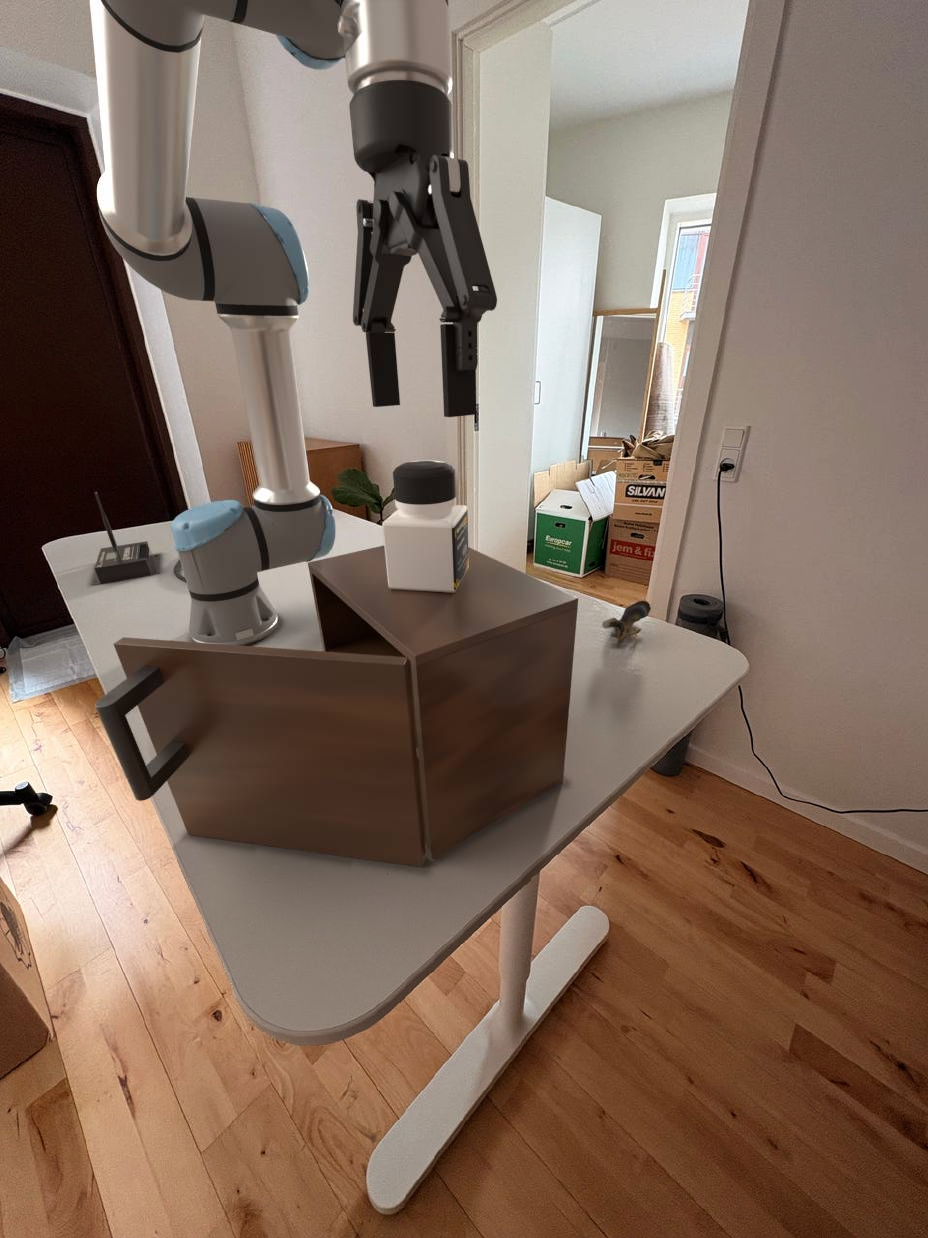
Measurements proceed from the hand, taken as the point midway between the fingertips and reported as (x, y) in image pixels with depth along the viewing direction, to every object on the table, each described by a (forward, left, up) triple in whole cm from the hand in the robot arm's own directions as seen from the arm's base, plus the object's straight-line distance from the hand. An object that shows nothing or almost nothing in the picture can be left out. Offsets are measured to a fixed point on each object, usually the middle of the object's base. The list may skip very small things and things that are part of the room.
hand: (419, 410), depth 47 cm
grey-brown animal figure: (-6, +42, -41) cm, 59 cm away
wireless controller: (-104, -29, -41) cm, 115 cm away
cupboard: (0, 0, -41) cm, 41 cm away
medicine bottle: (0, 0, -17) cm, 17 cm away
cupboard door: (+6, -21, -41) cm, 46 cm away
